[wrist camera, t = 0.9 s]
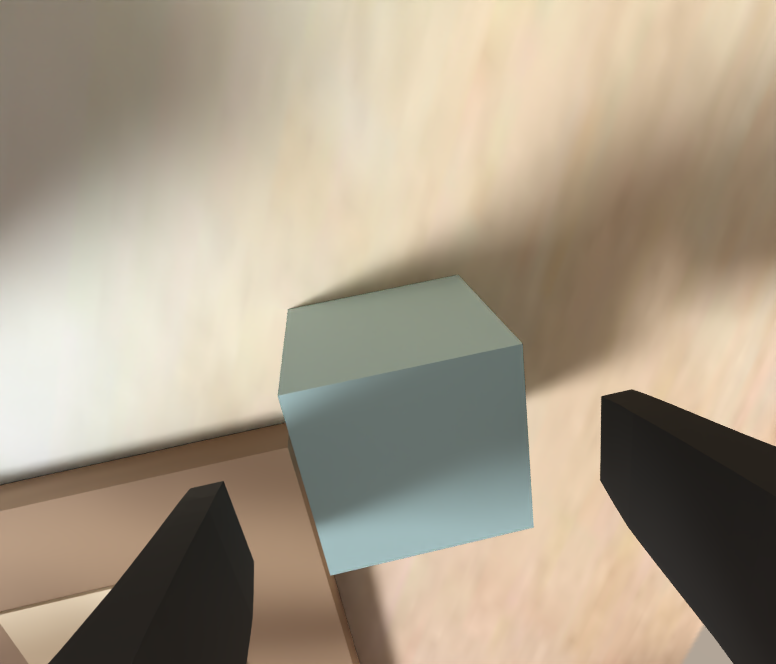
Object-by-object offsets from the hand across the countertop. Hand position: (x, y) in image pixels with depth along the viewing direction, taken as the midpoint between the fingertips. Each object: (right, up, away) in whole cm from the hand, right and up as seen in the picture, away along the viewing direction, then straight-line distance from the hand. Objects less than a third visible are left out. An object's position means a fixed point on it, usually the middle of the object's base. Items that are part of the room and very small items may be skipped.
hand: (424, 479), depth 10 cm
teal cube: (-1, +2, +5) cm, 5 cm away
